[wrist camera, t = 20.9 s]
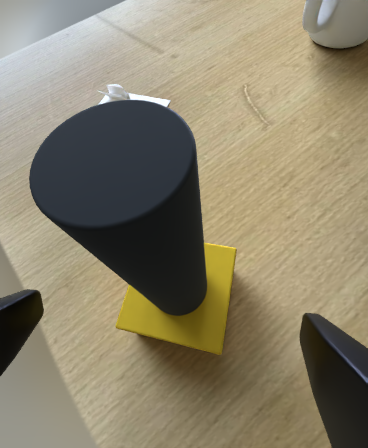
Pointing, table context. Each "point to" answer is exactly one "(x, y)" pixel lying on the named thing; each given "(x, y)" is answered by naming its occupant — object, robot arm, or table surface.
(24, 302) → the robot arm
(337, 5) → the cup
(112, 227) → the sponge wand
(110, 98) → the white plastic small piece
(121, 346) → the table surface
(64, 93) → the table surface
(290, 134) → the table surface
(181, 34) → the table surface
